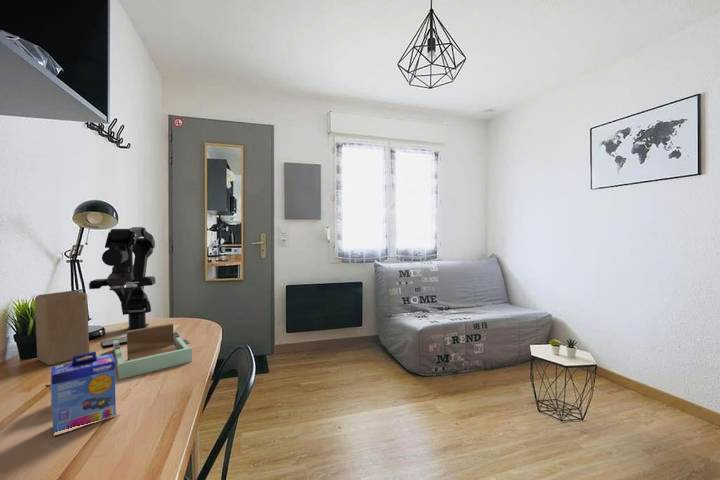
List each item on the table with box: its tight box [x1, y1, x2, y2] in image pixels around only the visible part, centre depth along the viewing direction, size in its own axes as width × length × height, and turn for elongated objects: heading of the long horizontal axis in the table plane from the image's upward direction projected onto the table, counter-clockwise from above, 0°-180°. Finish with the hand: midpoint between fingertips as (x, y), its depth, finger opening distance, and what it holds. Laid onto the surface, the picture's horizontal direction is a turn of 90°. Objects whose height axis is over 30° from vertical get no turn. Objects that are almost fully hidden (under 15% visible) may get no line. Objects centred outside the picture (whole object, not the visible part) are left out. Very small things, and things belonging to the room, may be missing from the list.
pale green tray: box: [111, 329, 193, 380], centre depth 100 cm, size 28×23×4 cm
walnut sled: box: [126, 323, 178, 361], centre depth 96 cm, size 12×12×9 cm
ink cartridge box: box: [50, 351, 117, 434], centre depth 65 cm, size 10×6×14 cm, turn 135°
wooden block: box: [34, 290, 90, 366], centre depth 99 cm, size 10×10×20 cm
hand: (124, 306), depth 116 cm, fingers closed
